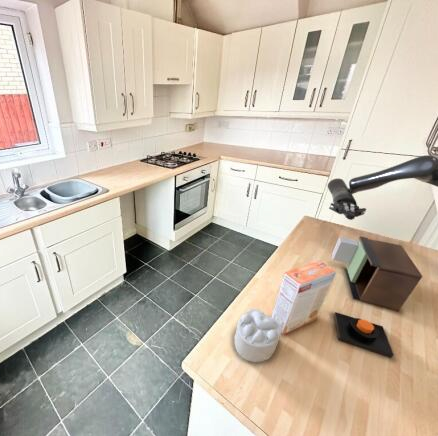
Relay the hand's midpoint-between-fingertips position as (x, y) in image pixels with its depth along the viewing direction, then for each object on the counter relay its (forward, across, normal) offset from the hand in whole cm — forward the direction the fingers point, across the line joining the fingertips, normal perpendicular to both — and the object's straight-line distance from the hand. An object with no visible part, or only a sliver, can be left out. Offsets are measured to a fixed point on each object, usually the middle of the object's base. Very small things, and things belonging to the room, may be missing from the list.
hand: (351, 217), depth 97 cm
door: (+11, +1, +18) cm, 22 cm away
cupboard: (+17, +9, +20) cm, 28 cm away
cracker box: (+45, -16, +20) cm, 52 cm away
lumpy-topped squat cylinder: (+59, -26, +20) cm, 68 cm away
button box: (+42, +2, +20) cm, 47 cm away
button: (+42, +2, +16) cm, 45 cm away
